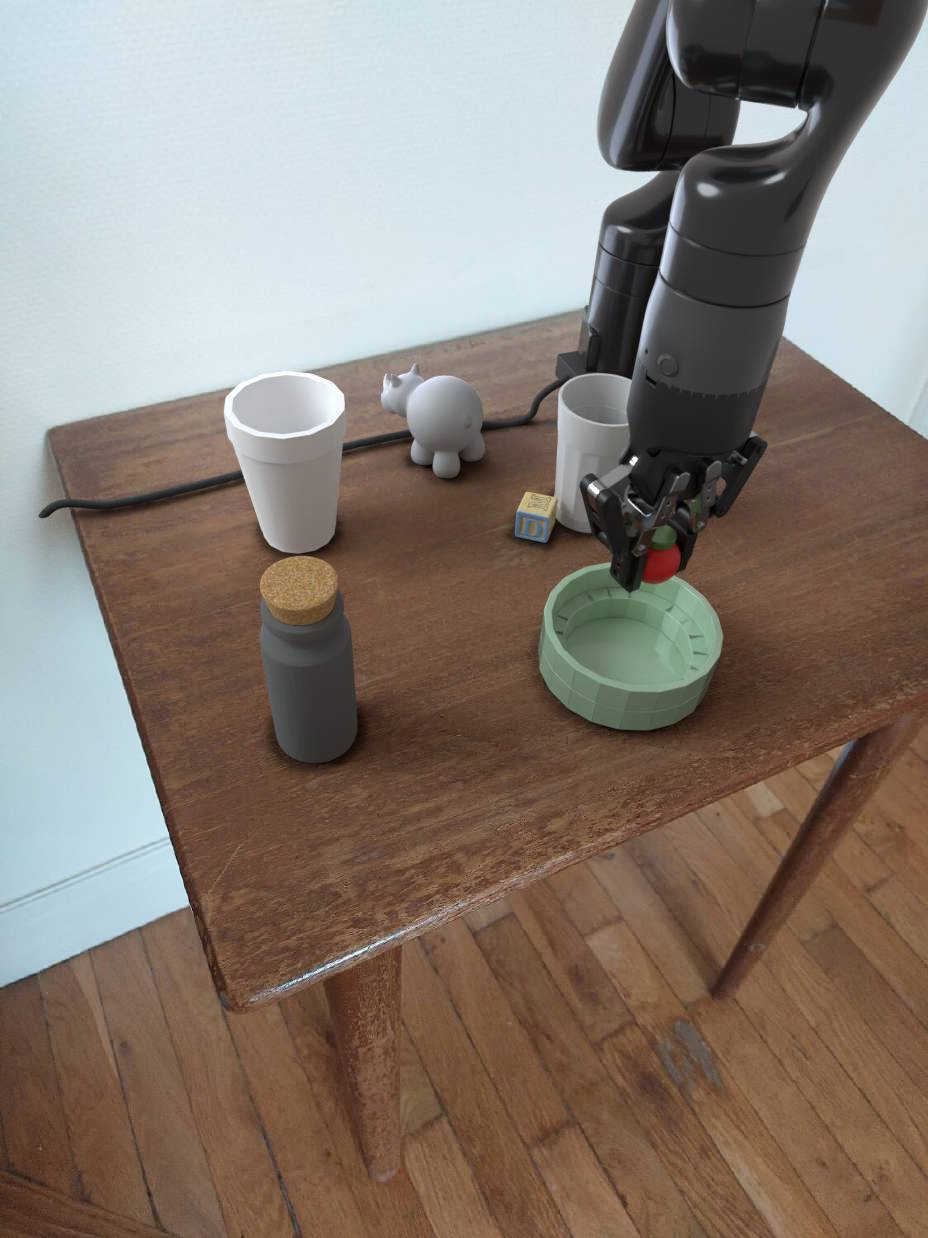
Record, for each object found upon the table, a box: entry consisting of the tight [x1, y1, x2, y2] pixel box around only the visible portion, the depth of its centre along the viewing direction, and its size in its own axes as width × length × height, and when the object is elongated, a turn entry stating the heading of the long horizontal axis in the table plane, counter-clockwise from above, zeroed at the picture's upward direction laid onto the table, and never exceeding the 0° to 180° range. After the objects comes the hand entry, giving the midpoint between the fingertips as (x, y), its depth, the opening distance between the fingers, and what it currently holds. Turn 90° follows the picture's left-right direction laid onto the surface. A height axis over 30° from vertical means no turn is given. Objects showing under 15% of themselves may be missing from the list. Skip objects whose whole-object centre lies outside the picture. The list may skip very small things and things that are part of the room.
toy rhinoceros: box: [380, 362, 486, 479], centre depth 87 cm, size 7×12×8 cm, turn 45°
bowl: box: [537, 561, 724, 731], centre depth 69 cm, size 13×13×5 cm
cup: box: [553, 373, 632, 534], centre depth 80 cm, size 8×8×12 cm
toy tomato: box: [642, 525, 681, 584], centre depth 62 cm, size 4×4×4 cm
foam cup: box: [223, 370, 347, 555], centre depth 76 cm, size 10×9×13 cm
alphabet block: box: [514, 491, 558, 544], centre depth 81 cm, size 3×3×3 cm
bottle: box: [259, 555, 358, 764], centre depth 60 cm, size 6×6×15 cm
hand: (648, 573), depth 64 cm, fingers closed on toy tomato, 3 cm apart
